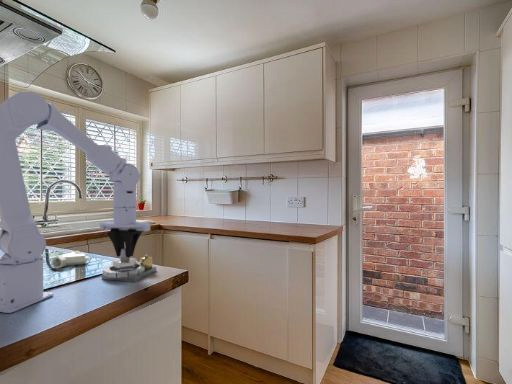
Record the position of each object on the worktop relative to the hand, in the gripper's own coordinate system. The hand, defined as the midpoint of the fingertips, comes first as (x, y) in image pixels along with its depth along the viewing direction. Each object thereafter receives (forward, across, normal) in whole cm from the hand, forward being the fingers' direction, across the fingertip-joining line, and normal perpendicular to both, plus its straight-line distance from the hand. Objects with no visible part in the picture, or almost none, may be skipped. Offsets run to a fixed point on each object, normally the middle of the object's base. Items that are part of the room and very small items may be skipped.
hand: (125, 256), depth 78 cm
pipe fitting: (+6, +23, -5) cm, 24 cm away
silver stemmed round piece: (+3, 0, 0) cm, 3 cm away
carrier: (+6, -1, -1) cm, 6 cm away
